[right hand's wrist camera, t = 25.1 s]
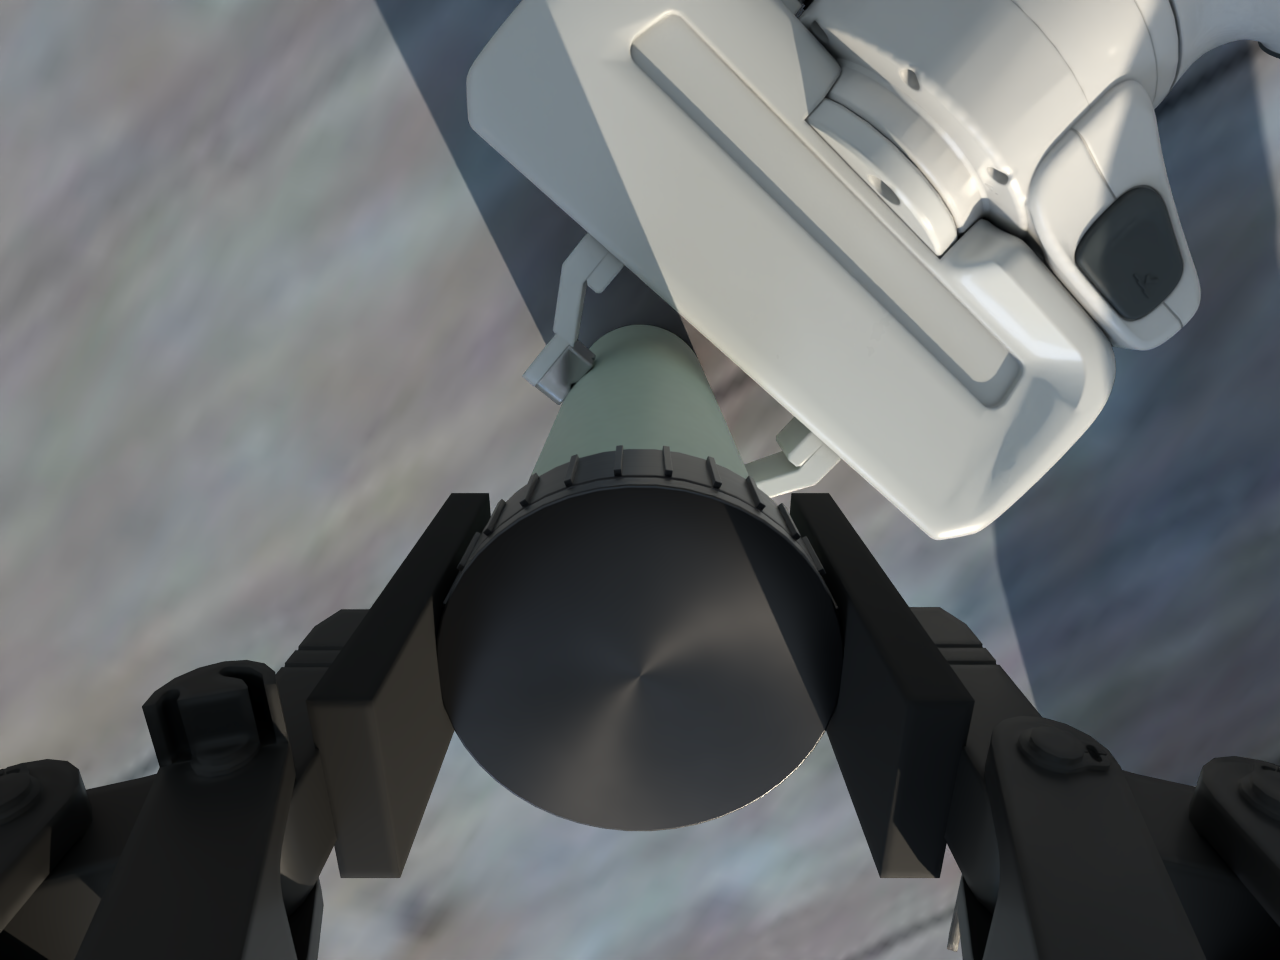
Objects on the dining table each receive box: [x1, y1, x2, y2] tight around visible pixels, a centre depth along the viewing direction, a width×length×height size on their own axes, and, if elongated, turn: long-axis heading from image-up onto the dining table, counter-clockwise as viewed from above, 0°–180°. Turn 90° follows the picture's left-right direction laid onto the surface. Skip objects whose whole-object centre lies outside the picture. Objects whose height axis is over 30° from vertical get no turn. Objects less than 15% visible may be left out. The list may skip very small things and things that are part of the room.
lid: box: [436, 445, 844, 831], centre depth 11 cm, size 6×6×2 cm
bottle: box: [532, 325, 749, 479], centre depth 20 cm, size 5×5×18 cm
